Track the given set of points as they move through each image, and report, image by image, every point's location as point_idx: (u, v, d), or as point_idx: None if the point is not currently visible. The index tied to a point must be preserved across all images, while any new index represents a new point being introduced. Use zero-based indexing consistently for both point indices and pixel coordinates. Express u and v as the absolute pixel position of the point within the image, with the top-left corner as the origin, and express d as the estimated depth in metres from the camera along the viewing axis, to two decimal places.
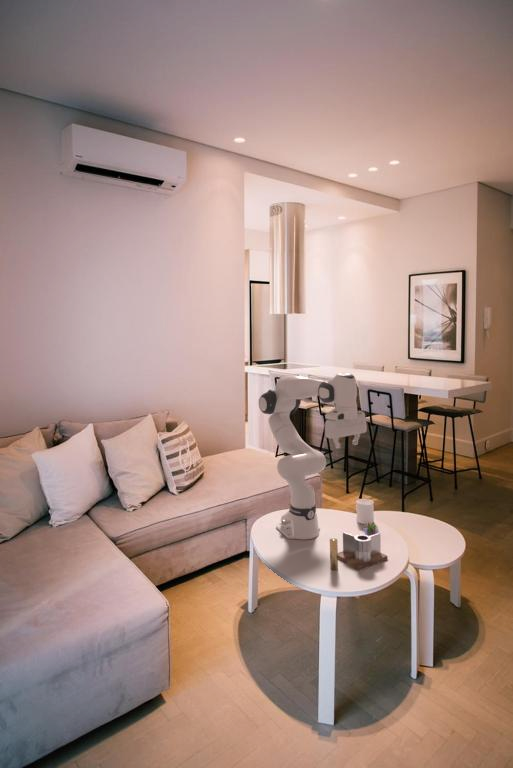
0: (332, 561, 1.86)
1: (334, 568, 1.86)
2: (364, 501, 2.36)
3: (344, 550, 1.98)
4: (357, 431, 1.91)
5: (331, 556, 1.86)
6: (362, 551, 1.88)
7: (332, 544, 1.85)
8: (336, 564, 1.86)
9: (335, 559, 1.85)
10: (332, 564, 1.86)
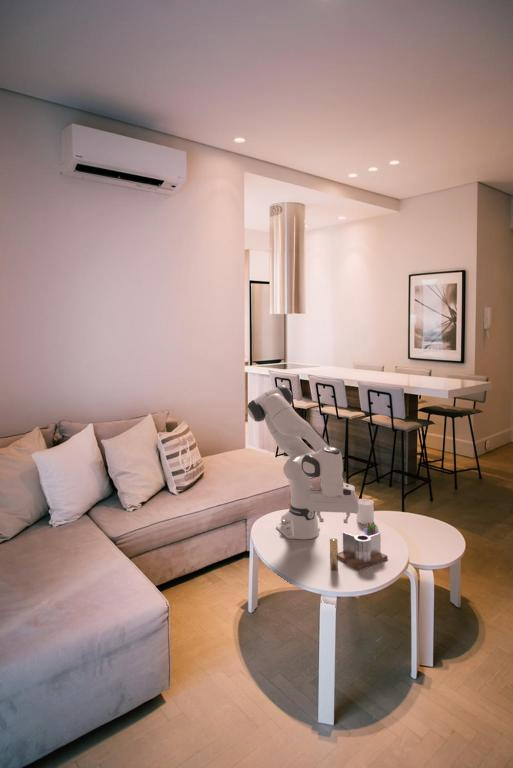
0: (332, 561, 1.86)
1: (334, 568, 1.86)
2: (364, 501, 2.36)
3: (344, 550, 1.98)
4: None
5: (331, 556, 1.86)
6: (362, 551, 1.88)
7: (332, 544, 1.85)
8: (336, 564, 1.86)
9: (335, 559, 1.85)
10: (332, 564, 1.86)
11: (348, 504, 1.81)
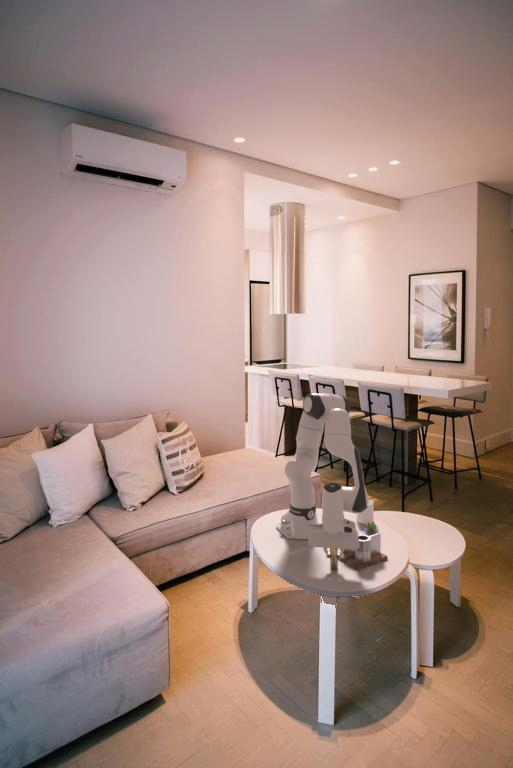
0: (332, 561, 1.86)
1: (334, 568, 1.86)
2: None
3: (344, 550, 1.98)
4: None
5: (331, 556, 1.86)
6: (362, 551, 1.88)
7: None
8: (336, 564, 1.86)
9: (335, 559, 1.85)
10: (332, 564, 1.86)
11: (349, 540, 1.83)
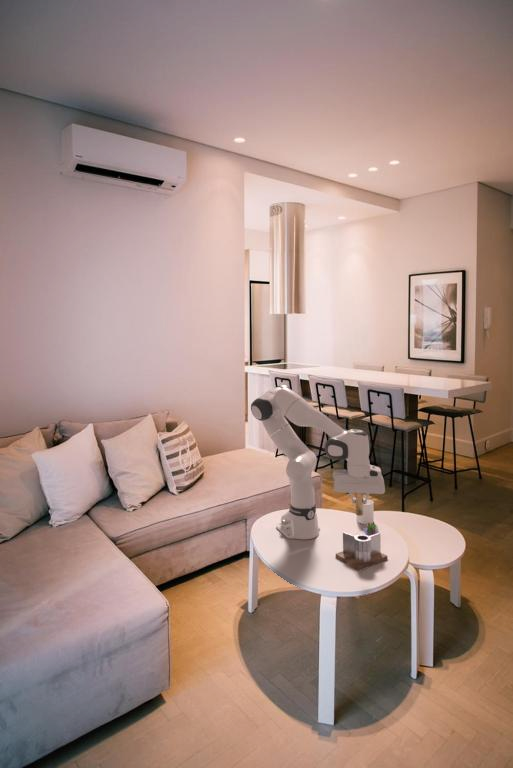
0: (358, 506, 1.87)
1: (360, 513, 1.87)
2: None
3: (344, 550, 1.98)
4: None
5: (356, 501, 1.87)
6: (362, 551, 1.88)
7: None
8: (362, 509, 1.87)
9: (361, 504, 1.87)
10: (358, 509, 1.87)
11: (374, 485, 1.84)
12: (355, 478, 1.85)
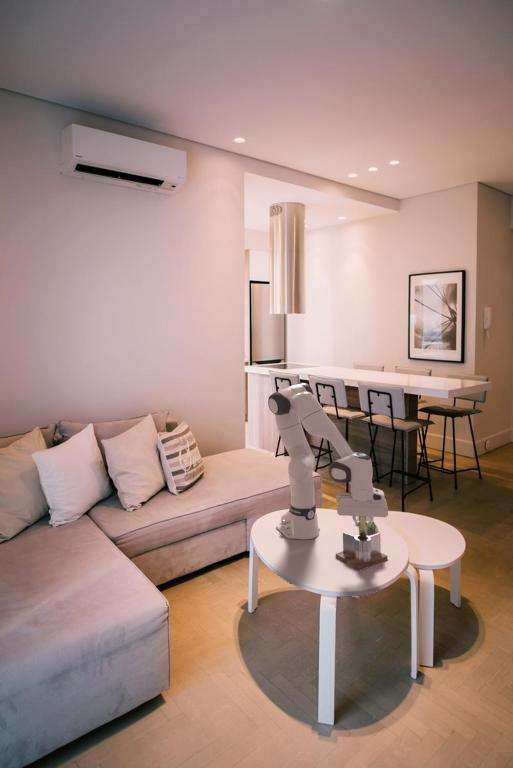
0: (361, 529, 1.89)
1: (363, 536, 1.89)
2: None
3: (344, 550, 1.98)
4: None
5: (360, 524, 1.89)
6: (362, 551, 1.88)
7: None
8: (365, 532, 1.89)
9: (364, 527, 1.88)
10: (361, 532, 1.89)
11: (378, 508, 1.86)
12: (358, 501, 1.86)
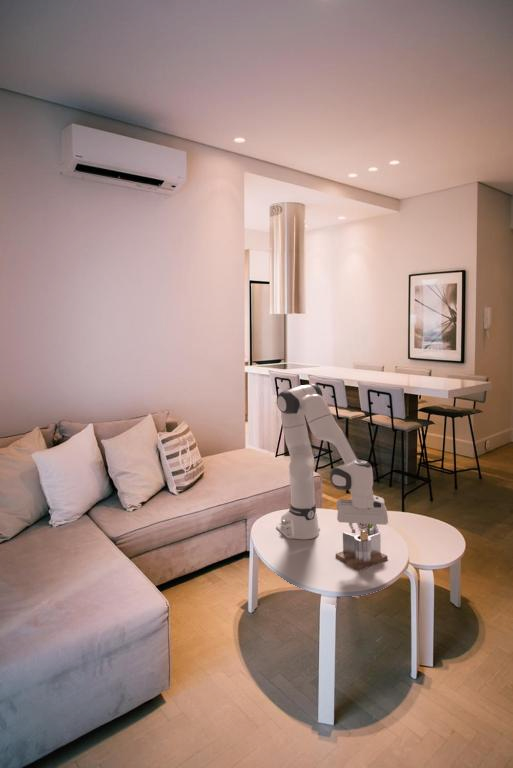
0: None
1: None
2: None
3: (344, 550, 1.98)
4: None
5: None
6: (362, 551, 1.88)
7: (362, 534, 1.89)
8: None
9: None
10: None
11: (378, 516, 1.86)
12: (359, 509, 1.87)
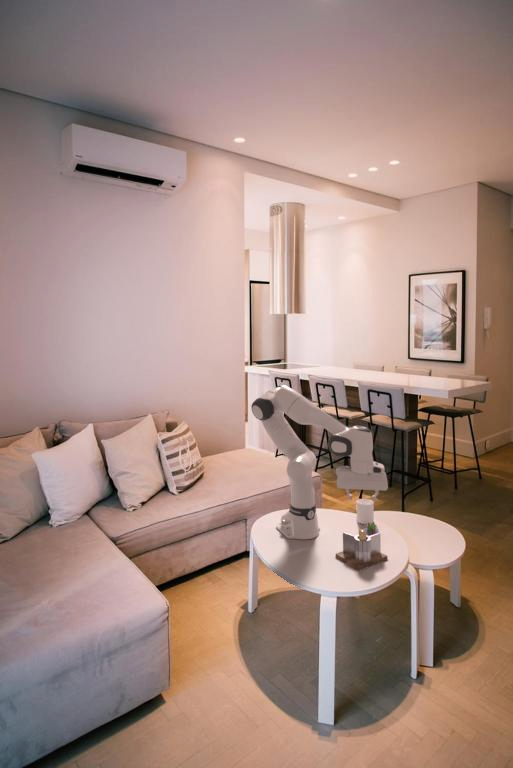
0: None
1: None
2: (364, 501, 2.36)
3: (344, 550, 1.98)
4: None
5: None
6: (362, 551, 1.88)
7: (361, 534, 1.89)
8: None
9: None
10: None
11: (378, 481, 1.85)
12: (358, 474, 1.85)
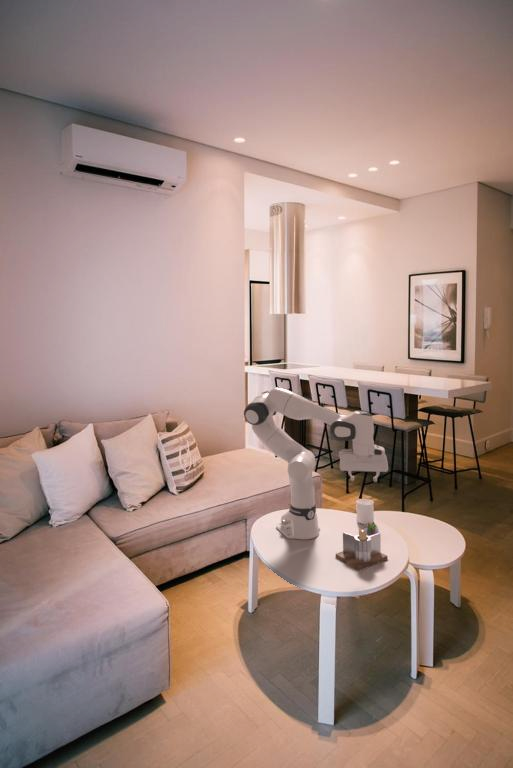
0: None
1: None
2: (364, 501, 2.36)
3: (344, 550, 1.98)
4: None
5: None
6: (362, 551, 1.88)
7: (361, 534, 1.89)
8: None
9: None
10: None
11: (378, 463, 1.95)
12: (360, 457, 1.95)
